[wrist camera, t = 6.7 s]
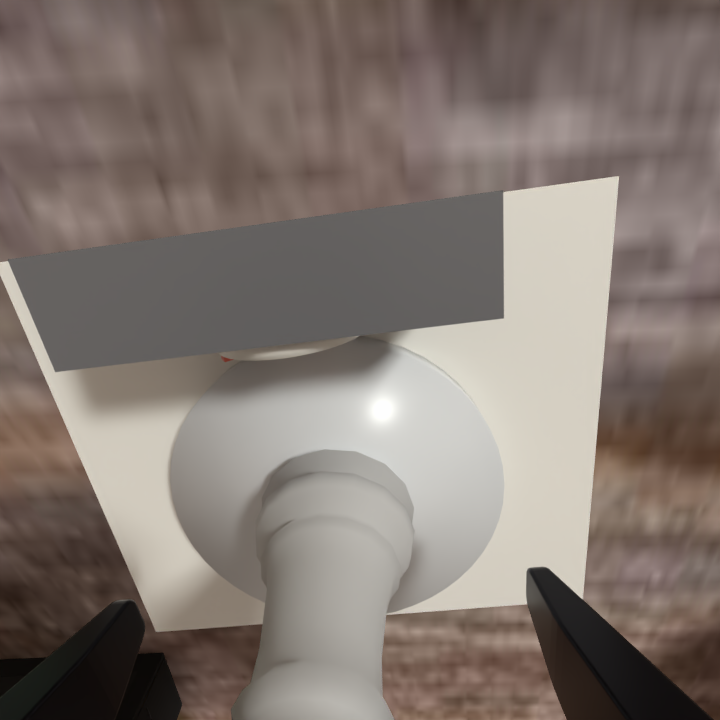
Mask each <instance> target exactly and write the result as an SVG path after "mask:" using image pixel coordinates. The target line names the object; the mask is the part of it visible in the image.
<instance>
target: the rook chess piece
mask: <svg viewBox="0 0 720 720" xmlns="http://www.w3.org/2000/svg"><path fill="white" fill-rule="evenodd" d="M413 513H414V506H413V503H412V501H411V498H410V495H409V493H408V490H407V487H406V485H405V483H404V482H403V481H402V480H401V479H400V478H399V477H398V476H397V475H396V474H395V473H394V472H393V471H392V470H391V469H390V468H389V467H388V466H387V465H386V464H384V463H382V462H380V461H377V460H375V459H373V458H370V457H368V456H366V455H363V454H361V453H359V452H356V451H342V450H327V449H324V450H320V451H317V452H313V453H310V454H306V455H303V456H299V457H296V458H294V459H292V460H291V461H290V462H289V463H287V464H286V465H285V466H284V467H282V468H281V469H280V470H279V471H277V472H276V473H275V474H273V475H272V477H271V480H270V482H269V484H268V486H267V488H266V490H265V492H264V494H263V496H262V509H261V511H260V513H259V515H258V517H257V519H256V554H257V558H258V560H259V561H260V563H261V579H262V581H263V582H264V584H265V586H266V588H267V593H266V600H265V608H264V616H263V624H262V631H261V639H260V647H259V652H258V656H257V660H256V664H255V667H254V671H253V675H252V679H251V683H250V684H249V685H248V686H247V687H246V688H244V689H243V690H242V692H241V693H240V695H239V697H238V698H237V700H236V702H235V703H234V705H233V707H232V708H231V714H232V720H394V718H393V716H392V714H391V712H390V710H389V708H388V706H387V704H386V702H385V700H384V699H383V697H382V650H383V640H384V631H385V621H386V613H387V609H388V605H389V601H390V600H391V598H392V597H393V595H394V594H395V593H396V591H397V590H398V588H399V582H400V578H401V577H402V576H403V574H404V573H405V571H406V570H407V569H408V567H409V564H410V560H411V555H412V548H413V540H414V533H415V530H414V528H413V525H412V520H413Z"/></svg>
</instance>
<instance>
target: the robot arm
mask: <svg viewBox="0 0 720 720" xmlns="http://www.w3.org/2000/svg"><path fill="white" fill-rule="evenodd" d="M526 599H527V604H528V608H529V611H530V614H531V617H532V621H533V624H534V627H535V630H536V633H537V636H538V640H539V643H540V646H541V649H542V652H543V656H544V659H545V662H546V665H547V668H548V671H549V675H550V678H551V681H552V684H553V687H554V689H555V692H556V694H557V697H558V699H559V702H560V704H561V707H562V709H563V711H564V714H565V716H566V719H567V720H713V719H712V718H711V717H710V716H709V715H708V714H707V713H706V712H705V711H704V710H702V709H701V708H700V707H699V706H698V705H697V704H696V703H695V702H694V701H693V700H692V699H690V698H689V697H688V696H687V695H686V694H685V693H684V692H683V691H682V690H681V689H680V688H679V687H677V686H676V685H675V684H674V683H673V682H672V681H671V680H670V679H669V678H668V677H667V676H665V675H664V674H663V673H662V672H661V671H660V670H659V669H658V668H657V667H656V666H655V665H653V664H652V663H651V662H650V661H649V660H648V659H647V658H646V657H645V656H644V655H643V654H641V653H640V652H639V651H638V650H637V649H636V648H635V647H634V646H633V645H632V644H631V643H629V642H628V641H627V640H626V639H625V638H624V637H623V636H622V635H621V634H620V633H619V632H617V631H616V630H615V629H614V628H613V627H612V626H611V625H610V624H609V623H608V622H607V621H605V620H604V619H603V618H602V617H601V616H600V615H599V614H598V613H597V612H596V611H595V610H593V609H592V608H591V607H590V606H589V605H588V604H587V603H586V602H585V601H584V600H583V599H582V598H580V597H579V596H578V595H577V594H576V593H575V592H574V591H573V590H572V589H571V588H570V587H568V586H567V585H566V584H565V583H564V582H563V581H562V580H561V579H560V578H559V577H558V576H556V575H555V574H554V573H553V572H552V571H551V570H550V569H549V568H547V567H530V568H528V569H527V572H526ZM144 632H145V623H144V620H143V618H142V616H141V614H140V611H139V609H138V607H137V605H136V603H135V601H134V600H131V599H127V600H117V601H114V602H113V603H111V604H110V605H109V606H107V607H106V608H105V609H104V610H103V611H102V612H100V613H99V614H98V615H97V616H96V617H94V618H93V619H92V620H91V621H90V622H89V623H87V624H86V625H85V626H84V627H83V628H82V629H80V630H79V631H78V632H77V633H76V634H74V635H73V636H72V637H71V638H70V639H69V640H67V641H66V642H65V643H64V644H63V645H61V646H60V647H59V648H58V649H57V650H56V651H54V652H53V653H52V654H51V655H50V656H48V657H47V658H46V659H45V660H44V661H43V662H41V663H40V664H39V665H38V666H37V667H36V668H34V669H33V670H32V671H31V672H30V673H28V674H27V675H26V676H25V677H24V678H23V679H21V680H20V681H19V682H18V683H17V684H15V685H14V686H13V687H12V688H11V689H10V690H8V691H7V692H6V693H5V694H4V695H3V696H1V697H0V720H115V718H116V716H117V713H118V710H119V708H120V705H121V702H122V699H123V696H124V693H125V690H126V687H127V684H128V681H129V678H130V675H131V672H132V669H133V666H134V663H135V660H136V657H137V655H138V652H139V649H140V646H141V643H142V640H143V637H144Z"/></svg>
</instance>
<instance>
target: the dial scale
mask: <svg viewBox="0 0 720 720" xmlns="http://www.w3.org/2000/svg"><path fill="white" fill-rule="evenodd" d="M618 181H619V176H617V177H610V178H602V179H595V180H588V181H581V182H574V183H566V184H559V185H552V186H545V187H538V188H531V189H523V190H516V191H509V192H503V190H502V191H495V192H488V193H480V194H473V195H466V196H459V197H452V198H445V199H437V200H430V201H423V202H416V203H409V204H402V205H394V206H387V207H380V208H373V209H366V210H359V211H352V212H344V213H337V214H330V215H323V216H316V217H309V218H301V219H294V220H287V221H280V222H273V223H266V224H258V225H251V226H244V227H237V228H230V229H223V230H216V231H208V232H201V233H194V234H187V235H180V236H173V237H165V238H158V239H151V240H144V241H137V242H130V243H122V244H115V245H108V246H101V247H94V248H87V249H80V250H72V251H65V252H58V253H51V254H44V255H37V256H29V257H22V258H15V259H8V261H7V262H0V276H1V278H2V280H3V282H4V285H5V287H6V289H7V292H8V294H9V296H10V299H11V301H12V303H13V305H14V308H15V310H16V312H17V315H18V317H19V319H20V321H21V324H22V326H23V328H24V331H25V333H26V335H27V337H28V340H29V342H30V344H31V347H32V349H33V351H34V353H35V356H36V358H37V360H38V363H39V365H40V367H41V370H42V372H43V374H44V376H45V379H46V381H47V383H48V386H49V388H50V390H51V392H52V395H53V397H54V399H55V402H56V404H57V406H58V408H59V411H60V413H61V415H62V418H63V420H64V422H65V424H66V427H67V429H68V431H69V434H70V436H71V438H72V441H73V443H74V445H75V447H76V450H77V452H78V454H79V457H80V459H81V461H82V463H83V466H84V468H85V470H86V473H87V475H88V477H89V479H90V482H91V484H92V486H93V489H94V491H95V493H96V495H97V498H98V500H99V502H100V505H101V507H102V509H103V512H104V514H105V516H106V518H107V521H108V523H109V525H110V528H111V530H112V532H113V534H114V537H115V539H116V541H117V544H118V546H119V548H120V550H121V553H122V555H123V557H124V560H125V562H126V564H127V566H128V569H129V571H130V573H131V576H132V578H133V580H134V583H135V585H136V587H137V589H138V592H139V594H140V596H141V599H142V601H143V603H144V605H145V608H146V610H147V612H148V615H149V617H150V619H151V621H152V624H153V626H154V628H155V631H156V632H164V631H178V630H191V629H204V628H217V627H231V626H244V625H257V624H263V616H264V608H265V600H266V593H267V588H266V586H265V584H264V582H263V581H262V579H261V563H260V561H259V560H258V558H257V554H256V519H257V517H258V515H259V513H260V511H261V509H262V496H263V494H264V492H265V490H266V488H267V486H268V484H269V482H270V480H271V477H272V475H273V474H275V473H276V472H277V471H279V470H280V469H281V468H282V467H284V466H285V465H286V464H287V463H289V462H290V461H291V460H292V459H294V458H296V457H299V456H303V455H306V454H310V453H313V452H317V451H320V450H324V449H327V450H342V451H356V452H359V453H361V454H363V455H366V456H368V457H370V458H373V459H375V460H377V461H380V462H382V463H384V464H386V465H387V466H388V467H389V468H390V469H391V470H392V471H393V472H394V473H395V474H396V475H397V476H398V477H399V478H400V479H401V480H402V481H403V482H404V483H405V485H406V487H407V490H408V493H409V495H410V498H411V501H412V503H413V506H414V513H413V520H412V525H413V528H414V530H415V533H414V540H413V548H412V555H411V560H410V564H409V567H408V569H407V570H406V571H405V573H404V574H403V576H402V577H401V578H400V582H399V588H398V590H397V591H396V593H395V594H394V595H393V597H392V598H391V600H390V601H389V605H388V609H387V613H386V615H390V614H403V613H416V612H430V611H443V610H456V609H469V608H483V607H496V606H509V605H522V604H527V599H526V572H527V569H528V568H530V567H547V568H549V569H550V570H551V571H552V572H553V573H554V574H555V575H556V576H558V577H559V578H560V579H561V580H562V581H563V582H564V583H565V584H566V585H567V586H568V587H570V588H571V589H572V590H573V591H574V592H575V593H576V594H577V595H578V596H579V597H580V598H582V599H583V590H584V579H585V567H586V555H587V544H588V532H589V520H590V509H591V497H592V485H593V474H594V462H595V450H596V438H597V427H598V415H599V403H600V392H601V380H602V368H603V357H604V345H605V333H606V322H607V310H608V298H609V287H610V275H611V263H612V251H613V240H614V228H615V216H616V205H617V193H618Z"/></svg>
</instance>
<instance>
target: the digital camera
mask: <svg viewBox="0 0 720 720" xmlns="http://www.w3.org/2000/svg"><path fill="white" fill-rule="evenodd" d="M45 659H46V658H28V659H4V660H0V697H1V696H3V695H4V694H5V693H6V692H7V691H8V690H10V689H11V688H12V687H13V686H14V685H15V684H17V683H18V682H19V681H20V680H21V679H23V678H24V677H25V676H26V675H27V674H28V673H30V672H31V671H32V670H33V669H34V668H36V667H37V666H38V665H39V664H40V663H41V662H43V661H44V660H45ZM163 659H164V660H163ZM162 661H163V662H162ZM161 663H162V664H161ZM160 665H161V667H160ZM159 668H160V669H159ZM158 670H159V671H158ZM157 672H158V673H157ZM156 674H157V675H156ZM155 677H156V678H155ZM154 679H155V680H154ZM153 681H154V682H153ZM152 683H153V684H152ZM181 706H182V702H181V700H180V697H179V694H178V692H177V689H176V686H175V684H174V681H173V678H172V676H171V673H170V670H169V667H168V665H167V662H166V659H165V657H164V654H163V653H148V654H138V655H137V657H136V660H135V663H134V666H133V669H132V672H131V675H130V678H129V681H128V684H127V687H126V690H125V693H124V696H123V699H122V702H121V705H120V708H119V710H118V713H117V716H116V718H115V720H177V718H178V715H179V712H180V709H181Z"/></svg>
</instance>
